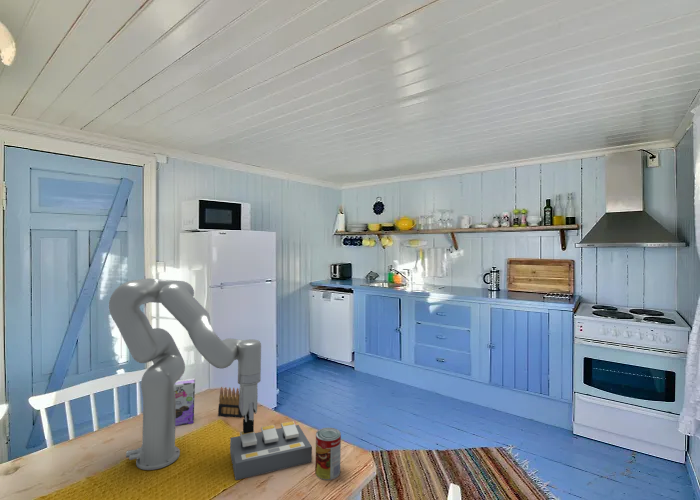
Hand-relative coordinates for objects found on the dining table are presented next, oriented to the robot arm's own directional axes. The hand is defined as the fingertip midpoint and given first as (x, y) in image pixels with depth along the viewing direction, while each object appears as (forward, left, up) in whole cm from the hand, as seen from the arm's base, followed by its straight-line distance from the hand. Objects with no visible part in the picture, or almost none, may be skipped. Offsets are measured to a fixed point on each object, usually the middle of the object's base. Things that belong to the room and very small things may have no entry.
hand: (248, 431), depth 119 cm
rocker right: (+14, -3, -1) cm, 14 cm away
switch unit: (+7, -4, -8) cm, 11 cm away
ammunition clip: (-2, +32, -8) cm, 33 cm away
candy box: (-23, +34, -8) cm, 42 cm away
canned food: (+22, -19, -8) cm, 30 cm away
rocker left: (0, -3, -1) cm, 3 cm away
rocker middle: (+7, -3, -1) cm, 7 cm away
